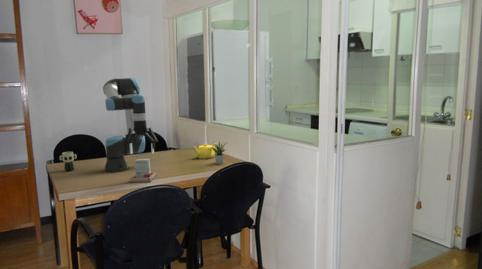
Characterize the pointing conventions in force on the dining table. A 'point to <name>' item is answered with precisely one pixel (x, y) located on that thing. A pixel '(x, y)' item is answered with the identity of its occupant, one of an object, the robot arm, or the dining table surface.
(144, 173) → the ink box
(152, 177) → the holder
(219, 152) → the house plant
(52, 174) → the dining table surface
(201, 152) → the teapot
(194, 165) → the dining table surface
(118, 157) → the robot arm
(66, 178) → the dining table surface
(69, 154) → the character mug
